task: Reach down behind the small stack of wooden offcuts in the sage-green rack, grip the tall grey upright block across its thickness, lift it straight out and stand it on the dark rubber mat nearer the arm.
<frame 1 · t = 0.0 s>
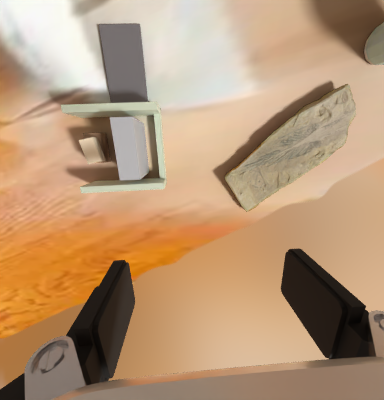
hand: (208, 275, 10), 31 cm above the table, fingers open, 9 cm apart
rack: (126, 149, 38), on the table
stone slab: (284, 152, 40), on the table
mat: (125, 69, 33), on the table
offcut b: (95, 150, 35), point 3 cm above the table, touching offcut a
disposable coffee cup: (376, 48, 35), on the table
offcut a: (101, 148, 37), on the table, touching offcut b
tall grey upright block: (138, 148, 38), resting in rack
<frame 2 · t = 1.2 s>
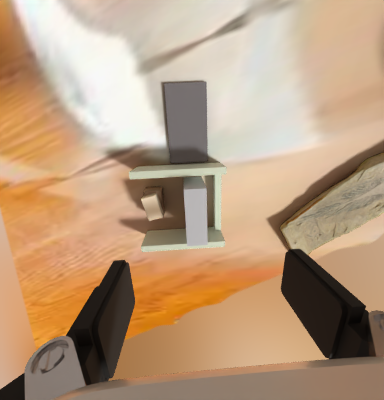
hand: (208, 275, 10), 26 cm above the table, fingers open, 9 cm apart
rack: (181, 201, 37), on the table
stone slab: (341, 200, 39), on the table
mat: (187, 125, 32), on the table
offcut b: (153, 204, 34), point 3 cm above the table
offcut a: (155, 199, 37), on the table
tall grey upright block: (193, 200, 37), resting in rack
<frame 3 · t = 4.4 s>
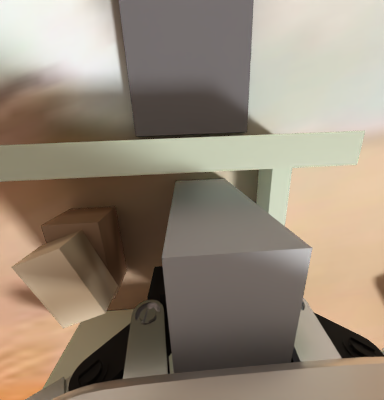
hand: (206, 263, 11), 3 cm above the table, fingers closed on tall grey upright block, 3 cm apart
rack: (170, 243, 14), on the table
mat: (186, 9, 10), on the table
offcut b: (82, 266, 11), point 3 cm above the table, touching offcut a
offcut a: (101, 240, 14), on the table, touching offcut b
tall grey upright block: (201, 241, 14), resting in rack, touching gripper
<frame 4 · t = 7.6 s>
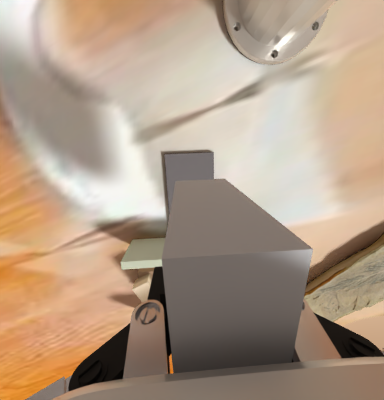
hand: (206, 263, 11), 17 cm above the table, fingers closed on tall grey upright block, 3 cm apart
rack: (182, 274, 32), on the table
stone slab: (361, 268, 34), on the table
mat: (190, 196, 28), on the table
offcut b: (149, 286, 29), point 3 cm above the table
offcut a: (152, 273, 32), on the table
tall grey upright block: (201, 241, 14), point 14 cm above the table, touching gripper
when the fingers open (4 cm above the table, at t = 10.8 s): tall grey upright block stays where it is, resting on mat.
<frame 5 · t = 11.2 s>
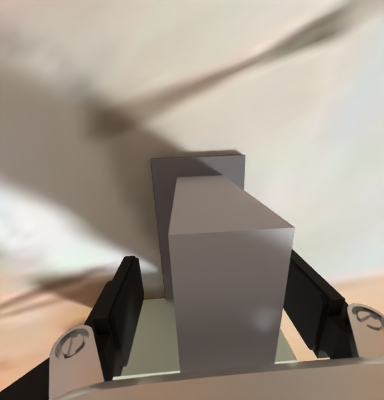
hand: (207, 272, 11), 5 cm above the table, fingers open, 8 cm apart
rack: (185, 350, 20), on the table
mat: (199, 232, 16), on the table
tall grey upright block: (201, 235, 15), point 1 cm above the table, touching mat
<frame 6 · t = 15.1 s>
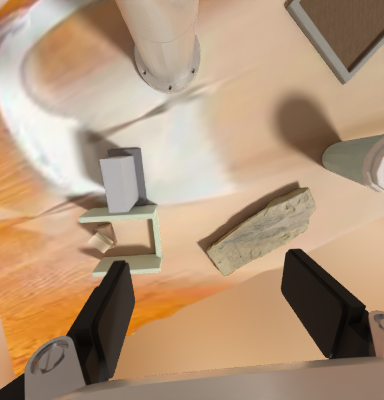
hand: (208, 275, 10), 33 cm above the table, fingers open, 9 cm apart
rack: (129, 234, 46), on the table
stone slab: (258, 229, 48), on the table
mat: (129, 178, 42), on the table
offcut b: (102, 240, 43), point 3 cm above the table, touching offcut a
disposable coffee cup: (332, 157, 43), on the table
offcut a: (108, 233, 46), on the table, touching offcut b
tall grey upright block: (128, 178, 41), point 1 cm above the table, touching mat
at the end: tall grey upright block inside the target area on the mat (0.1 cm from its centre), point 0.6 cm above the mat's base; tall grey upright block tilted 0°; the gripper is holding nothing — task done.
